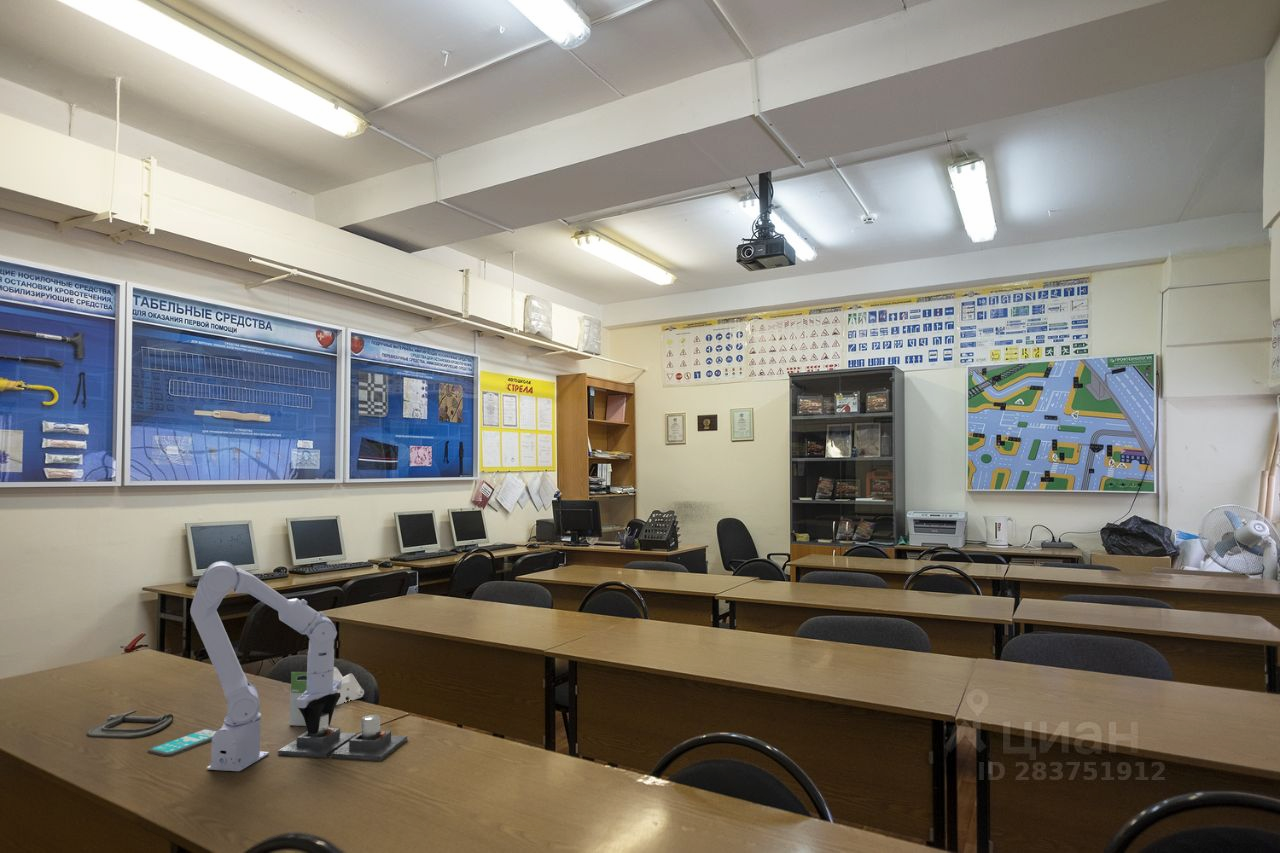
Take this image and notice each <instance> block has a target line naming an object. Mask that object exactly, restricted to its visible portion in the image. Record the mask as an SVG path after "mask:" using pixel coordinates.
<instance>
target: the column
mask: <svg viewBox="0 0 1280 853" xmlns="http://www.w3.org/2000/svg"><path fill="white" fill-rule="evenodd" d="M360 729H361V730H360V731H361V732H360V733H361V740H376V739H377V738H379V734H380V730H381V715H380V714H379V715H378V714H369V715H365V716H363V717H361V728H360Z"/></svg>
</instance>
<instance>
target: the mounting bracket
mask: <svg viewBox="0 0 1280 853" xmlns="http://www.w3.org/2000/svg"><path fill="white" fill-rule="evenodd" d="M334 680H341V681H342V685H341V689H339V690H337V692H336V693H340V698H339V700H338V702H337V704H336V706H339V705H342V704H345V703H348V702H347V701H348V700H349V702H351V701H350V700H352V701H355V700H357V699H361V698H363V697H364V694H365V690H364V689H363V688H362V686H361V685H360V684H359V682H358V681H357V679H356V677H355V676H354V674H353V673H351V672H350V673H348V674H346V675H344V676H343V675H342V673H341V672H340V670H339V668H338V667H336V666H334V678H333V681H334ZM347 699H348V700H347ZM344 702H345V703H344Z"/></svg>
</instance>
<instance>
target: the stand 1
mask: <svg viewBox="0 0 1280 853" xmlns="http://www.w3.org/2000/svg"><path fill="white" fill-rule="evenodd" d="M356 735H358V733H357V732H342V731H341V728H340V727H328V731H327V735H325V736H324V737H309V734H308V731H307V730H306V732H304V733H302V734H300V735H298V736H297V737H296V739H294V740H293V741H291V742H290V743H289V744H286V745H284V746H283V747H282V748H280V749H278V750H277V755H278V756H290V757H308V758H322V759H327V758H329V757H331V753H333V752H334V751H335V750H337V749H338V748H340V747H341V746H343V745H344V744H346V743H347V742H349V740H350V739H352V738H353V737H355V736H356Z"/></svg>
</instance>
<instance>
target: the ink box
mask: <svg viewBox="0 0 1280 853" xmlns="http://www.w3.org/2000/svg"><path fill="white" fill-rule="evenodd" d="M290 675H291V676H290V690H289V691H290V695H289V699H290V700H289V719H288V720H289V721H288V722H289V723H288V725H289V726H302V727H304V726H305V727H306V723H305V720H304V717H303V715H302V713H301V712H300V710H299V709H298V708H296V699H298V698H299V697H301V695H302V694H303V693H304V692H305V691H306V690H307V679H298V678H300V677H303V676H304V677H307V671H291V672H290Z"/></svg>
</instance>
